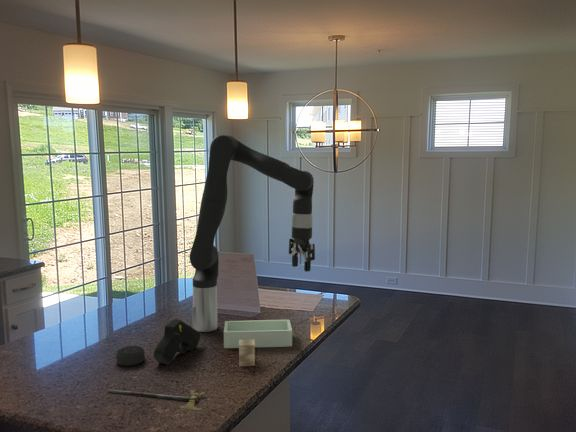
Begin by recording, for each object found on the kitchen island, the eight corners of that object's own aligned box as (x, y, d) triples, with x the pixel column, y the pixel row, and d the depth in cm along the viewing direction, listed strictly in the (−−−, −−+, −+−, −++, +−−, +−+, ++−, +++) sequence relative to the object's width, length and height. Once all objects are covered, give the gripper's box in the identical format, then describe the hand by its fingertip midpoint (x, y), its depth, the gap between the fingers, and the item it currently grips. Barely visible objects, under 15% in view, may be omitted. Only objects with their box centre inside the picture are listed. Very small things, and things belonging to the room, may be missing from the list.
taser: (150, 359, 163) (167, 314, 169) (179, 373, 177) (193, 331, 183) (160, 361, 161) (177, 316, 167) (188, 375, 175) (203, 333, 181)
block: (239, 366, 164) (239, 345, 163) (239, 360, 169) (239, 339, 168) (254, 365, 165) (254, 345, 164) (254, 359, 170) (254, 339, 169)
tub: (223, 348, 179) (223, 332, 178) (225, 336, 191) (225, 321, 190) (292, 346, 181) (292, 330, 180) (289, 334, 193) (289, 319, 192)
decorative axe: (105, 390, 145) (128, 372, 154) (105, 395, 146) (129, 377, 154) (194, 413, 134) (214, 392, 143) (194, 418, 134) (214, 397, 143)
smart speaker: (112, 361, 168) (111, 349, 168) (138, 354, 174) (137, 343, 173) (123, 369, 161) (122, 357, 161) (149, 362, 167) (149, 350, 167)
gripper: (283, 223, 192) (282, 265, 194) (303, 228, 180) (302, 274, 182) (300, 222, 196) (299, 264, 198) (321, 227, 184) (320, 271, 186)
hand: (301, 268), depth 190 cm, fingers open, 8 cm apart
